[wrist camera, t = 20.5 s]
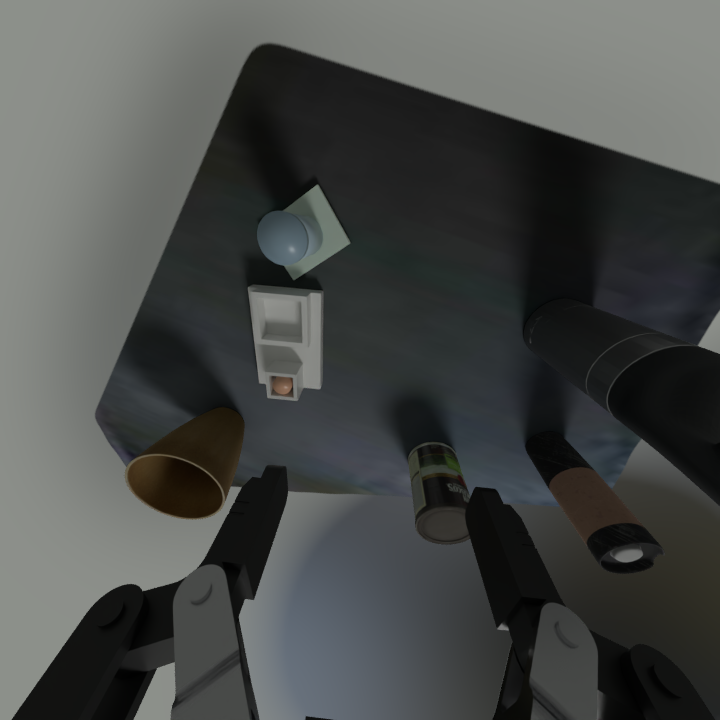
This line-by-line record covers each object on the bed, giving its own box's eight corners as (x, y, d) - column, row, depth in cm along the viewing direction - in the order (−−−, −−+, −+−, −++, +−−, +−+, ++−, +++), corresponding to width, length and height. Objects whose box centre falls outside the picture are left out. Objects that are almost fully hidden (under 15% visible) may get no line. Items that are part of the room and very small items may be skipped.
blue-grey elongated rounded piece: (324, 216, 35) (305, 212, 26) (323, 257, 37) (306, 267, 28) (285, 213, 35) (254, 208, 26) (287, 254, 37) (259, 263, 29)
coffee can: (435, 433, 52) (453, 498, 40) (466, 460, 55) (493, 529, 42) (397, 458, 56) (402, 525, 43) (428, 482, 59) (441, 551, 46)
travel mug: (516, 442, 52) (589, 555, 34) (555, 423, 49) (655, 535, 32) (534, 464, 54) (611, 580, 36) (572, 447, 52) (674, 563, 34)
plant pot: (231, 456, 59) (184, 530, 45) (177, 412, 54) (105, 478, 39) (278, 430, 54) (243, 502, 40) (225, 378, 49) (163, 440, 35)
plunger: (296, 368, 44) (290, 379, 41) (297, 383, 46) (291, 395, 43) (279, 367, 44) (271, 377, 41) (280, 382, 46) (273, 393, 43)
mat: (319, 185, 34) (317, 184, 33) (351, 243, 37) (350, 243, 36) (261, 229, 37) (259, 229, 36) (295, 279, 40) (293, 280, 39)
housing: (323, 290, 40) (315, 300, 35) (322, 383, 48) (315, 402, 43) (253, 284, 41) (234, 293, 35) (263, 377, 49) (249, 396, 43)
